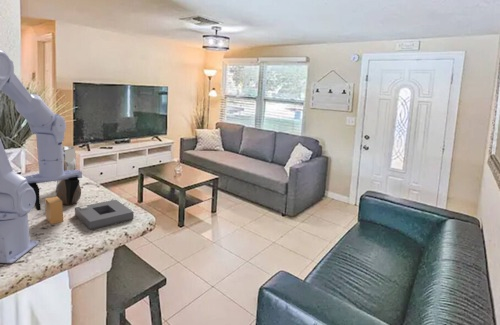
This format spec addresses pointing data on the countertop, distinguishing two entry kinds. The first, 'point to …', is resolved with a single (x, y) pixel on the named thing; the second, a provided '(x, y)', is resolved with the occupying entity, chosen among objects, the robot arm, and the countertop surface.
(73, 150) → the metal tumbler
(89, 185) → the countertop surface
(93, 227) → the socket
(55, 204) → the plug
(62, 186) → the vase
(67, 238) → the countertop surface
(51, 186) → the countertop surface
